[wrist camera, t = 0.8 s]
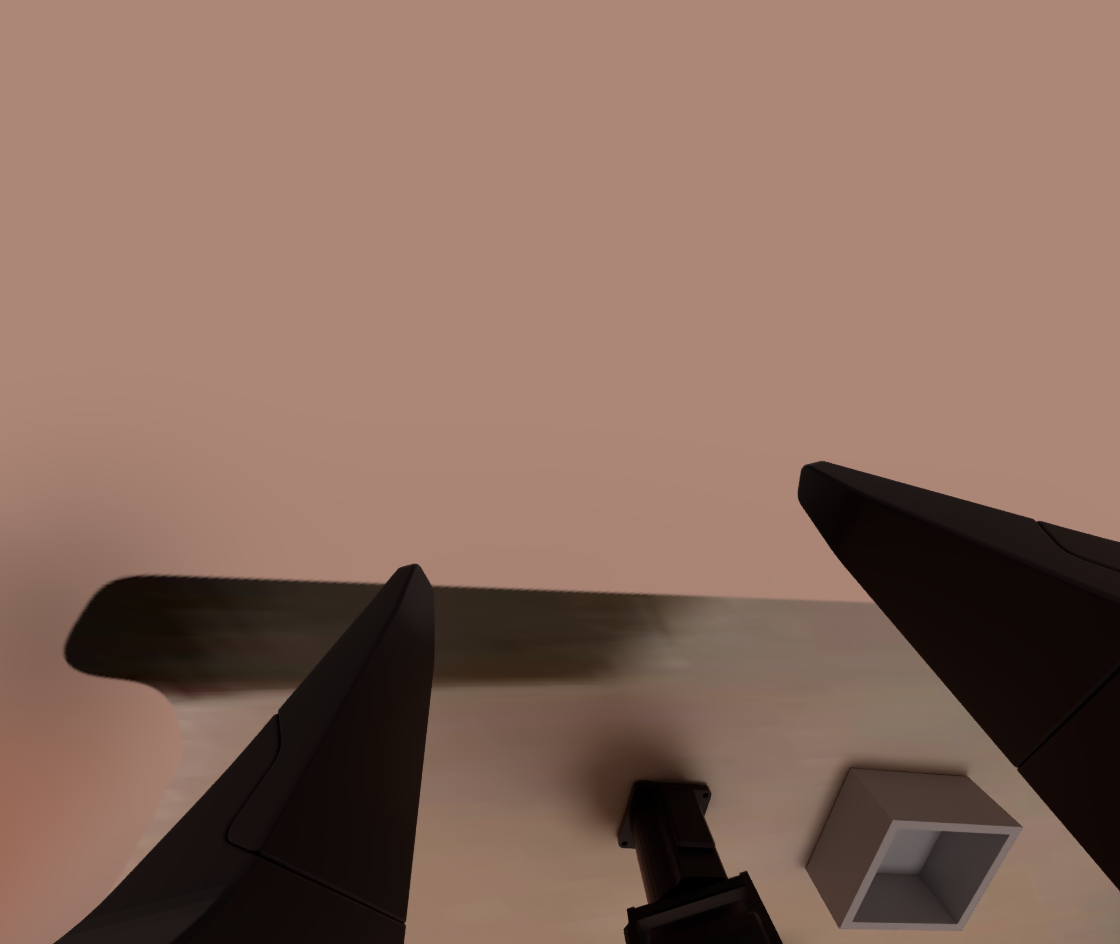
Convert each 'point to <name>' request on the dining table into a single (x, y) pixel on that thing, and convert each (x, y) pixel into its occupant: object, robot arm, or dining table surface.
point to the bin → (909, 851)
